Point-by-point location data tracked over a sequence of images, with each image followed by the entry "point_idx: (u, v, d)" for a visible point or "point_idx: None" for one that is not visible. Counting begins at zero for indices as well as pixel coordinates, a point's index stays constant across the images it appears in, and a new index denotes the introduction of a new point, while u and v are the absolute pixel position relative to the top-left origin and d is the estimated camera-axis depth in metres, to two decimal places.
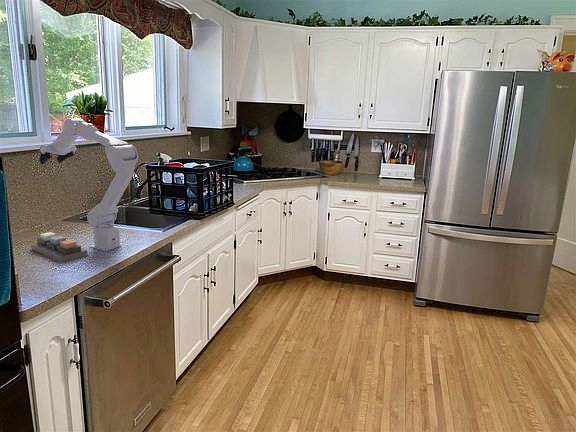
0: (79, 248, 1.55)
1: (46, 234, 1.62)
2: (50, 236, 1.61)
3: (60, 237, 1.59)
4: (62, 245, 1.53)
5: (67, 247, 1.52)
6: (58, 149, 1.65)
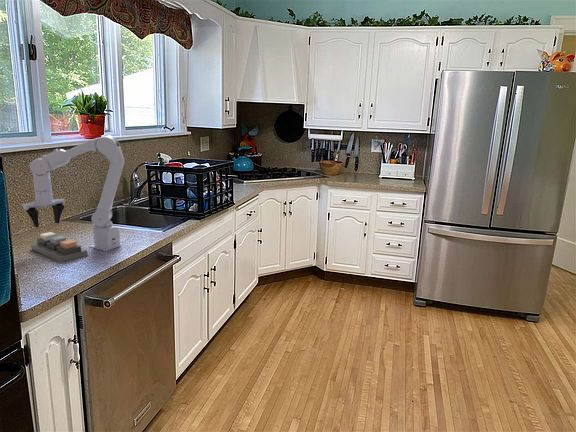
0: (79, 248, 1.55)
1: (46, 234, 1.62)
2: (50, 236, 1.61)
3: (60, 237, 1.59)
4: (62, 245, 1.53)
5: (67, 247, 1.52)
6: (39, 200, 1.56)
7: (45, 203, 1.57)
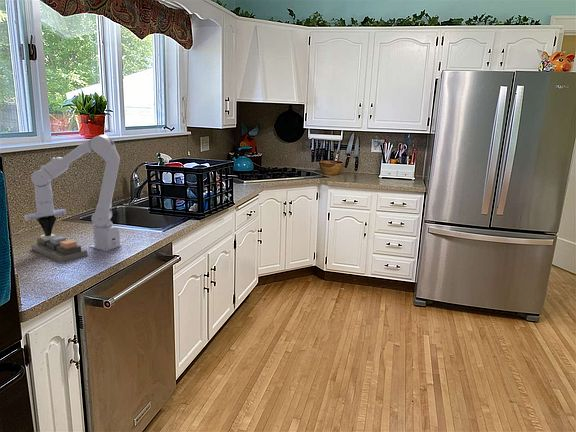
0: (79, 248, 1.55)
1: None
2: (50, 237, 1.61)
3: (60, 237, 1.59)
4: (62, 245, 1.53)
5: (67, 247, 1.52)
6: (41, 211, 1.57)
7: (46, 214, 1.58)
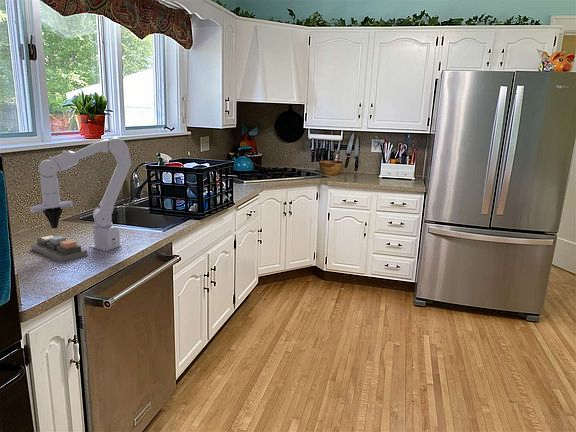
0: (79, 248, 1.55)
1: (46, 238, 1.62)
2: None
3: (60, 237, 1.59)
4: (62, 245, 1.53)
5: (67, 247, 1.52)
6: (47, 202, 1.53)
7: (52, 205, 1.54)
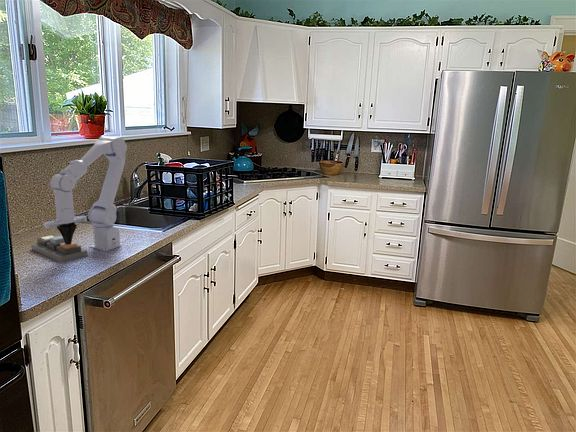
0: (79, 248, 1.55)
1: (46, 238, 1.62)
2: None
3: (60, 237, 1.59)
4: (62, 246, 1.53)
5: None
6: (61, 218, 1.49)
7: (67, 221, 1.50)
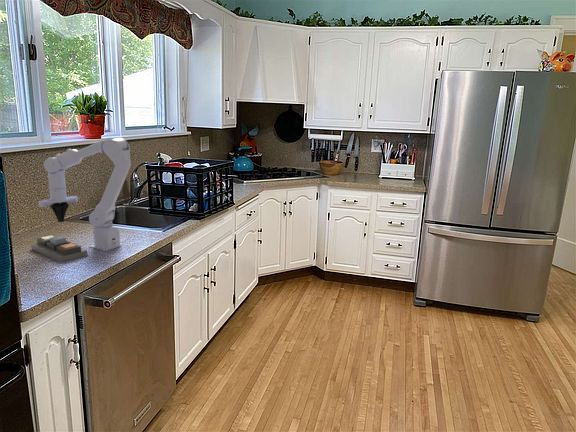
0: (79, 248, 1.55)
1: (46, 238, 1.62)
2: None
3: (60, 237, 1.59)
4: None
5: None
6: (54, 197, 1.61)
7: (59, 200, 1.62)
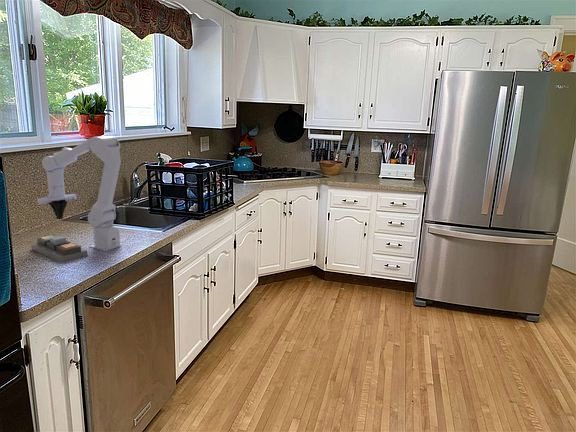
0: (79, 248, 1.55)
1: (46, 238, 1.62)
2: None
3: (60, 237, 1.59)
4: None
5: None
6: (53, 195, 1.66)
7: (58, 198, 1.67)
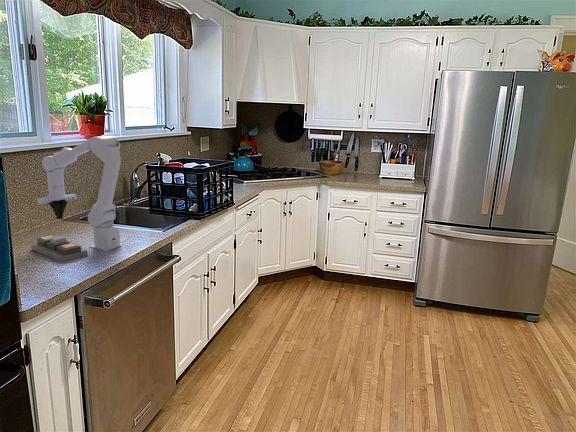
0: (79, 248, 1.55)
1: (46, 238, 1.62)
2: None
3: (60, 237, 1.59)
4: None
5: None
6: (53, 195, 1.66)
7: (58, 198, 1.67)
